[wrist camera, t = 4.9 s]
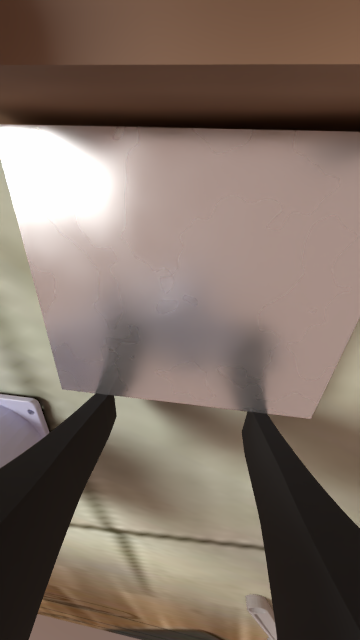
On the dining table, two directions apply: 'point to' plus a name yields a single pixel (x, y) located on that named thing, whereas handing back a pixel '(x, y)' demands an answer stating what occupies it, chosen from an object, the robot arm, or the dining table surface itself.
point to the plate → (192, 258)
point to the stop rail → (181, 64)
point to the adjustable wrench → (262, 614)
